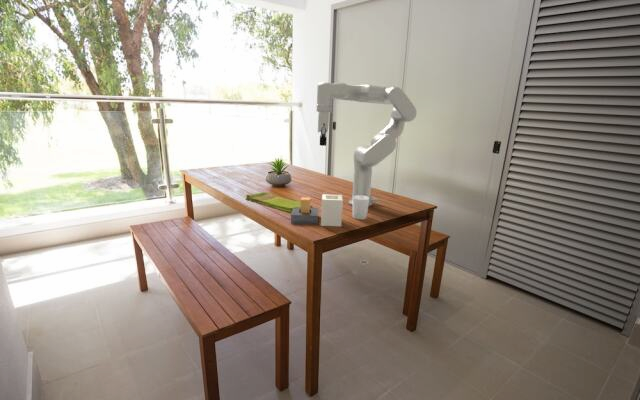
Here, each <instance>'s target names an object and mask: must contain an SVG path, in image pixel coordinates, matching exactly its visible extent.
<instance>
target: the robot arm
mask: <svg viewBox="0 0 640 400" xmlns="http://www.w3.org/2000/svg"><path fill="white" fill-rule="evenodd" d="M316 90H317V92H316V113H318V117H317V133H320V135H319V146H322V147H323V146H327V134H328V131H329V125H330V113H331V114H332V113H333V99H334V100H341V101H351V102H352V101H353V102H359V103H366V104H368V103H369V104H377V105H378V104H380V105H392V106H393V107H392V109H391V112H390V120H389V123H388V124H387V125H386V126H385V127H384V128H383V129H381V130H380V131H379V132H378V133H377V134H375V135H374V136H373V137H372V138H371V140H370V145H371V146H367V145H360V146H358V147H357V148H356V149H355V150H354V153H353V180H352V181H353V182H352V196H351V199H349V201H348V203H349V204H350V205H351V206H352V203H353V196H356V195H362V196H367V197H369V205H368V207H370V206H372V205H373V202H376V203H377V202H379V197H377V198H376V197H375V196H374V197H373V196H371V187H372V176H373V175H372V174H373V167H376V166H378V165H379V164H380V163H381V162H383V161H384V160H386V158H387V157H388V156H391V154H392V153H393V152H394V151H395V149H396V147H397V139H398V138H399V137H400V136H401V135H402V134H403V132H404V128H405V123H410V122H412V121H414V120H415V119H416V116H417V108H416V106H415V105H414V103H413V102H412V100H411V99H410V98H409V96H408V95H407V94H406V93H405V91H404V90H403V89H401V88H400V87H399V86H381V85H373V84H360V85H351V84H350V85H349V84H347V83H345V82H337V83H334V82H326V81H325V82H318V84H317V89H316Z"/></svg>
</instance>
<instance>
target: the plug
mask: <svg viewBox="0 0 640 400" xmlns="http://www.w3.org/2000/svg"><path fill="white" fill-rule="evenodd" d="M300 202H301V213H310V205H311V197H306V196H304V197H303V196H302V197H301V198H300Z"/></svg>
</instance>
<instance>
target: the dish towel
mask: <svg viewBox="0 0 640 400" xmlns="http://www.w3.org/2000/svg"><path fill="white" fill-rule="evenodd" d="M245 200H246V201H249V200H250V201H249V202H252V203H255V202H256V204H259V205H262V206H266V207H269V208H273V209H276V210H279V211H283V212H286V213H289V214H291V213H292V210H293V207H301V201H296V200H291V199H287V198H284V197H280V196H277V195H274V194H271V193H269V192H266V191H262V192H257V193H251V194H250V193H249V194H246V198H245ZM310 207H312V208H314V207H313V205H311V204H310Z"/></svg>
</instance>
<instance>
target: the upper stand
mask: <svg viewBox="0 0 640 400" xmlns="http://www.w3.org/2000/svg"><path fill="white" fill-rule="evenodd" d="M343 199H344V198H343V195H342V194H324V193H323V194H321V213H320V215H321V216H320V226H321V227H327V226H328V227H342V223H343V222H342V221H343V219H342V218H343V207H344V206H343V204H344V203H343V202H344V201H343Z"/></svg>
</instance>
